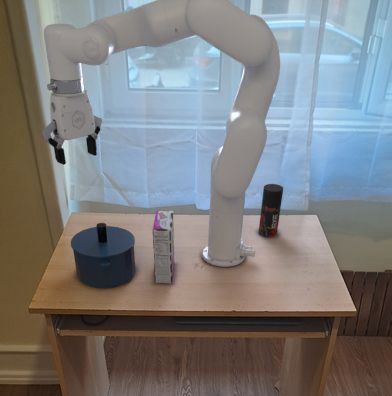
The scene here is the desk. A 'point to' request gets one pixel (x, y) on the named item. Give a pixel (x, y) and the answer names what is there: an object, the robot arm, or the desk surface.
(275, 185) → the deodorant
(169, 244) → the candy bar box
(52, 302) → the desk surface
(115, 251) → the pot lid
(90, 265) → the pot
